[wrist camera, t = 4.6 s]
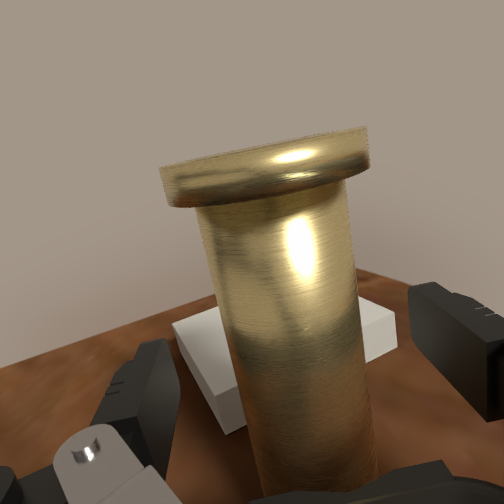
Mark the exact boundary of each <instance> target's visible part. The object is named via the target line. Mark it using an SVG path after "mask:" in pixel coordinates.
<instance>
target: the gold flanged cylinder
mask: <svg viewBox="0 0 504 504" xmlns="http://www.w3.org/2000/svg"><path fill="white" fill-rule="evenodd" d="M369 168H370V158H369V146H368V135H367V127H357V128H350V129H344V130H338V131H333V132H327V133H322V134H316V135H311V136H306V137H300V138H295V139H289V140H285V141H279V142H274V143H269V144H264V145H259V146H254V147H249V148H245V149H239V150H234V151H229V152H224V153H220V154H215V155H210V156H205V157H201V158H196V159H192V160H187V161H183V162H178V163H174V164H170V165H166V166H163V167H159V171H160V175H161V179H162V183H163V187H164V191H165V194H166V198H167V202H168V205H169V206H172V207H180V208H181V207H182V208H187V207H189V208H191V207H195V211H196V215H197V219H198V224H199V228H200V232H201V236H202V240H203V244H204V248H205V253H206V257H207V261H208V265H209V269H210V274H211V278H212V282H213V286H214V290H215V294H216V299H217V303H218V307H219V311H220V315H221V319H222V324H223V328H224V332H225V336H226V340H227V344H228V349H229V353H230V357H231V361H232V365H233V369H234V374H235V378H236V382H237V386H238V390H239V394H240V399H241V403H242V407H243V411H244V415H245V419H246V424H247V428H248V432H249V436H250V440H251V444H252V449H253V453H254V457H255V461H256V465H257V469H258V474H259V478H260V482H261V486H262V490H263V494H264V498H265V497H270V496H274V495H279V494H284V493H288V492H293V491H317V492H351V491H354V490H356V489H358V488H360V487H362V486H364V485H366V484H367V483H369V482H371V481H373V480H375V479H377V478H379V473H378V465H377V456H376V447H375V438H374V430H373V421H372V412H371V404H370V395H369V386H368V377H367V369H366V360H365V351H364V342H363V334H362V325H361V316H360V307H359V299H358V290H357V281H356V272H355V265H354V255H353V247H352V237H351V229H350V220H349V212H348V203H347V194H346V185H345V179H346V178H349V177H352V176H354V175H357V174H359V173H362V172H363V171H365V170H367V169H369Z"/></svg>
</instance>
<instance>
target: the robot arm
mask: <svg viewBox="0 0 504 504" xmlns="http://www.w3.org/2000/svg"><path fill="white" fill-rule="evenodd" d="M408 305H409V318H410V330H411V335H412V338H413V341H414V343H415V345H416V346H417V348H418V349H419V350H420V351H421V352H422V353H423V354H424V355H425V357H426V358H427V359H428V360H429V361H430V362H431V363H432V364H433V365H434V366H435V367H436V368H437V369H438V370H439V372H440V373H441V374H442V375H443V376H444V377H445V378H446V379H447V380H448V381H449V382H450V383H451V384H452V386H453V387H454V388H455V389H456V390H457V391H458V392H459V393H460V394H461V395H462V396H463V397H464V398H465V399H466V401H467V402H468V403H469V404H470V405H471V406H472V407H473V408H474V409H475V410H476V411H477V412H478V413H479V414H480V416H481V417H482V418H483V419H484V420H485V421H486V422H492V421H496V420H501V419H504V318H503V317H501V316H500V315H498V314H495V313H494V312H493V311H492V310H490V309H488V308H487V307H484V305H482V304H481V303H479V302H477V301H476V300H474V299H473V298H470V297H467V296H464V295H461V294H458V293H451V292H449V291H448V290H446V289H445V288H443V287H442V286H440V285H439V284H437V283H436V282H429V283H424V284H419V285H415V286H410V287H409V289H408ZM179 402H180V383H179V379H178V375H177V372H176V369H175V365H174V362H173V359H172V356H171V352H170V349H169V346H168V343H167V341H166V339H165V338H162V339H157V340H152V341H148V342H143V343H141V344H140V346H139V348H138V350H137V352H136V355H135V357H134V359H133V360H131V361H127V362H126V363H125V364H124V365H123V366H122V367H121V368H120V369H119V370H118V371H117V372H116V373H115V375H114V377H113V379H112V381H111V383H110V387H108V389H107V391H106V393H105V396H104V397H103V399H102V401H101V403H100V405H99V407H98V409H97V412H96V414H95V416H94V418H93V420H92V422H91V424H90V426H89V427H88V428H85V429H83V430H81V431H79V432H78V433H76V434H75V435H73V436H72V437H70V438H69V439H68V440H67V441H66V442H65V443H64V444H63V445H62V446H61V447H60V448H59V450H58V451H57V453H56V455H55V457H54V460H53V464H52V465H50V466H48V467H45V468H43V469H41V470H39V471H36V472H34V473H32V474H30V475H28V476H25V477H23V478H21V479H19V480H18V479H17V478H16V476H15V474H14V472H13V470H12V469H11V468H10V467H7V466H0V504H182V503H181V501H180V500H179V499H178V498H177V496H176V495H175V494H174V493H173V491H172V490H171V489H170V488H169V486H168V485H167V484H166V483H165V479H166V474H167V468H168V463H169V457H170V452H171V446H172V441H173V435H174V430H175V424H176V419H177V413H178V408H179ZM249 504H504V487H501V486H499V485H496V484H493V483H489V482H486V481H482V480H478V479H473V478H466V477H458V476H453V475H452V474H451V472H450V471H449V470H448V468H447V467H446V465H445V464H444V462H443V461H442V460H437V461H433V462H428V463H423V464H419V465H414V466H409V467H405V468H400V469H395V470H393V471H391V472H389V473H387V474H385V475H383V476H381V477H379V478H377V479H375V480H373V481H371V482H369V483H367V484H366V485H364V486H362V487H360V488H358V489H356V490H354V491H351V492H317V491H293V492H288V493H284V494H279V495H274V496H270V497H265V498H260V499H256V500H251V501H249Z"/></svg>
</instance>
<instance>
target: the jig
mask: <svg viewBox="0 0 504 504" xmlns="http://www.w3.org/2000/svg"><path fill="white" fill-rule="evenodd" d="M358 299H359V307H360V316H361V325H362V334H363V342H364V351H365V360H366V363H367V362H369V361H371V360H373V359H375V358H377V357H379V356H381V355H383V354H385V353H387V352H389V351H391V350H392V349H394V348H396V347H397V338H396V327H395V316H394V312H392V311H390V310H388V309H386V308H383V307H381V306H379V305H377V304H374V303H372V302H370V301H368V300H365V299H363V298H361V297H359V296H358ZM172 326H173V329H174V332H175V336H176V339H177V342H178V346H179V349H180V352H181V354H182V356H183V358H184V360H185V362H186V363H187V365H188V367H189V369H190V371H191V373H192V374H193V376H194V378H195V380H196V382H197V384H198V386H199V387H200V389H201V391H202V393H203V395H204V397H205V398H206V400H207V402H208V404H209V406H210V408H211V409H212V411H213V413H214V415H215V417H216V419H217V420H218V422H219V424H220V426H221V428H222V430H223V432H224V433H225V435H227V434H229V433H231V432H233V431H235V430H237V429H239V428H241V427H243V426H245V425H247V424H246V419H245V415H244V411H243V407H242V403H241V399H240V394H239V390H238V386H237V382H236V378H235V374H234V369H233V365H232V361H231V357H230V353H229V349H228V344H227V340H226V336H225V332H224V328H223V324H222V319H221V315H220V311H219V307H215V308H212V309H210V310H207V311H204V312H202V313H199V314H196V315H194V316H191V317H188V318H186V319H183V320H180V321H178V322H175V323H172Z"/></svg>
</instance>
